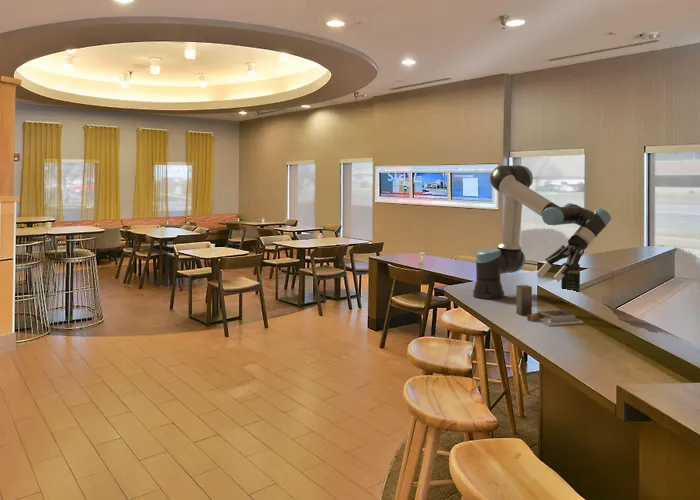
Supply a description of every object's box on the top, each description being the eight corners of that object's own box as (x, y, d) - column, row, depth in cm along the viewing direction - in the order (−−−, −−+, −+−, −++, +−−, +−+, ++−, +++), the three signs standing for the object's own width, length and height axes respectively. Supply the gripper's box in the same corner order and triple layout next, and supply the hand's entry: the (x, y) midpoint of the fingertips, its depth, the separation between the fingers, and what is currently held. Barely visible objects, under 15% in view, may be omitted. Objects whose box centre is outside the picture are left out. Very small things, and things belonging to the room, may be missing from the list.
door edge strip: (527, 320, 204) (527, 315, 204) (553, 314, 212) (553, 309, 212) (532, 321, 202) (532, 316, 201) (558, 315, 210) (558, 310, 209)
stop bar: (516, 313, 216) (516, 285, 215) (526, 312, 216) (526, 285, 215) (521, 315, 211) (521, 287, 210) (531, 315, 212) (531, 286, 211)
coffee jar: (579, 303, 231) (580, 263, 229) (560, 302, 234) (561, 262, 232) (579, 299, 239) (580, 260, 238) (561, 298, 243) (561, 260, 241)
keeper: (530, 317, 207) (530, 310, 207) (562, 315, 209) (562, 308, 209) (548, 326, 194) (548, 318, 193) (582, 323, 196) (582, 315, 195)
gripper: (605, 248, 203) (570, 287, 202) (569, 243, 227) (538, 278, 227) (593, 235, 201) (557, 275, 201) (558, 232, 226) (527, 267, 225)
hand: (547, 277), depth 214 cm, fingers open, 13 cm apart
